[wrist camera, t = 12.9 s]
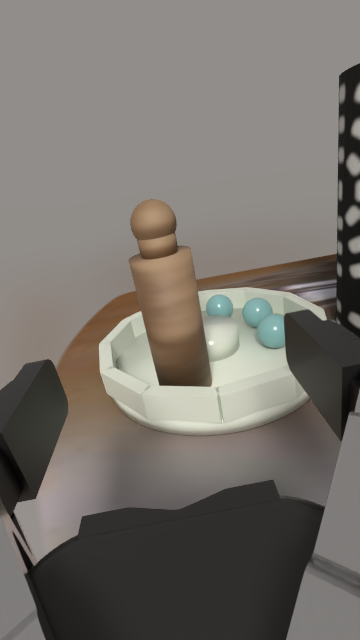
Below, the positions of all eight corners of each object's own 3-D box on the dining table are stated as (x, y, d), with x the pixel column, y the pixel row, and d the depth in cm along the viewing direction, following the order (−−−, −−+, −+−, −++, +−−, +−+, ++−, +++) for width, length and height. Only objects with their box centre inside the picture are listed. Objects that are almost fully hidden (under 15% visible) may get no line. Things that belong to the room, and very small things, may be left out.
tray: (365, 336, 29) (368, 293, 27) (232, 487, 17) (223, 429, 16) (205, 305, 42) (200, 275, 40) (71, 379, 31) (57, 342, 29)
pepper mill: (223, 378, 24) (195, 190, 19) (186, 408, 22) (143, 203, 17) (185, 364, 27) (152, 196, 22) (149, 388, 25) (102, 208, 20)
